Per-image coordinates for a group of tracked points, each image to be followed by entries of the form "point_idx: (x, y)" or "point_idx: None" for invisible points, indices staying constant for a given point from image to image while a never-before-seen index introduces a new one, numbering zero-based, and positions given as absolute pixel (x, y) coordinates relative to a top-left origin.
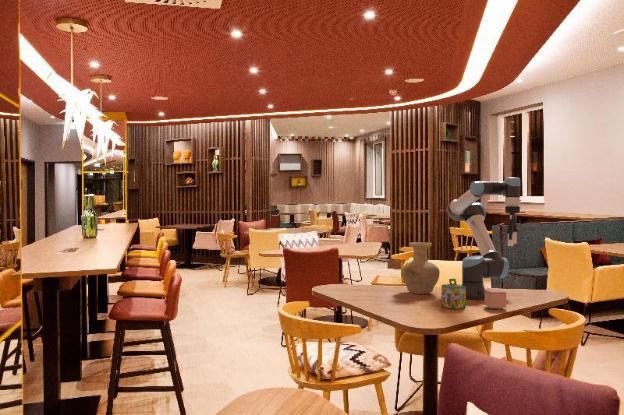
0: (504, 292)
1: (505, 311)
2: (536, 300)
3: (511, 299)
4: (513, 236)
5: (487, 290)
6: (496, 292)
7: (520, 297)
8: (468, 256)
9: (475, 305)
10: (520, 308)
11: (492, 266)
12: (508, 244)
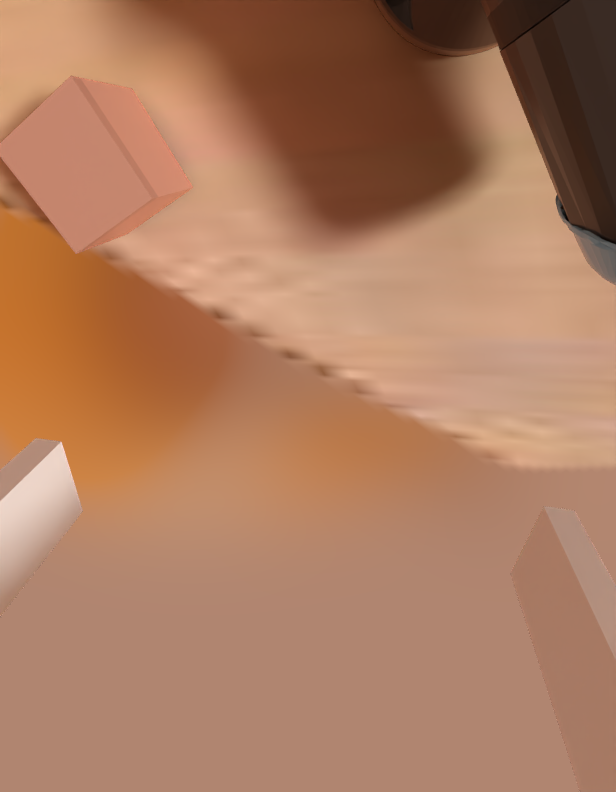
0: (68, 241)
1: None
2: (458, 378)
3: (453, 248)
4: (595, 716)
5: (43, 107)
6: (26, 187)
7: (540, 299)
8: None
9: (141, 11)
10: (203, 301)
11: (539, 80)
12: (19, 465)
